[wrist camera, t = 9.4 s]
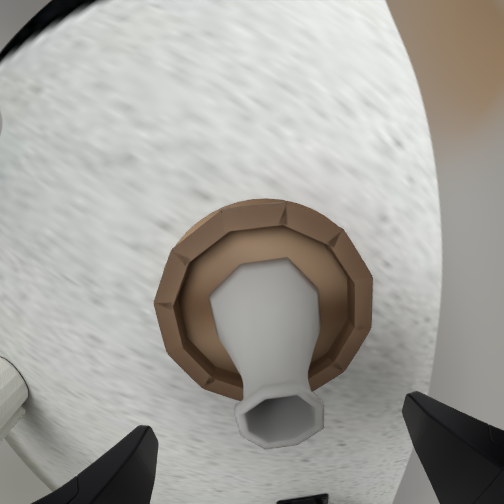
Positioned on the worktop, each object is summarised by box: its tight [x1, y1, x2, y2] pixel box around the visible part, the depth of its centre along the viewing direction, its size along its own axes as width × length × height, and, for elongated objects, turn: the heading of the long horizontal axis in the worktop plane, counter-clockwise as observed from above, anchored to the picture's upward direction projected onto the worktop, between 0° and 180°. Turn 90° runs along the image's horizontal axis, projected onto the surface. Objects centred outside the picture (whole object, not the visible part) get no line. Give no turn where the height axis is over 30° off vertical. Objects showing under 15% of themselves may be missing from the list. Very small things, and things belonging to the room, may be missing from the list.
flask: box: [209, 257, 324, 449], centre depth 14 cm, size 7×7×10 cm
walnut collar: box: [154, 199, 373, 401], centre depth 18 cm, size 14×14×2 cm
